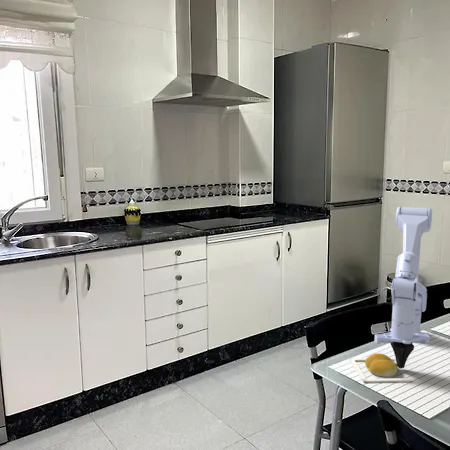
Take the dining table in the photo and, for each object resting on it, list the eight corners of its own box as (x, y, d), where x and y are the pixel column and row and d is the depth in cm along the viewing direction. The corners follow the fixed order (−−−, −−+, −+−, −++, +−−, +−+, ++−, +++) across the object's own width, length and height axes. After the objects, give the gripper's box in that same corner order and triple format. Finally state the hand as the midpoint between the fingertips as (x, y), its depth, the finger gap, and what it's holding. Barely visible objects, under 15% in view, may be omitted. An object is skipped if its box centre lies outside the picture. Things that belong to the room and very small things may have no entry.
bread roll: (374, 379, 122) (375, 365, 121) (361, 363, 131) (361, 350, 130) (404, 377, 123) (404, 363, 122) (388, 362, 132) (389, 349, 131)
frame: (349, 359, 133) (349, 358, 133) (392, 359, 133) (392, 357, 133) (363, 382, 120) (363, 380, 120) (410, 381, 120) (410, 380, 120)
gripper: (381, 326, 120) (379, 374, 122) (436, 325, 120) (432, 373, 122) (372, 316, 127) (370, 361, 129) (424, 315, 127) (421, 360, 129)
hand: (400, 366), depth 126 cm, fingers closed
